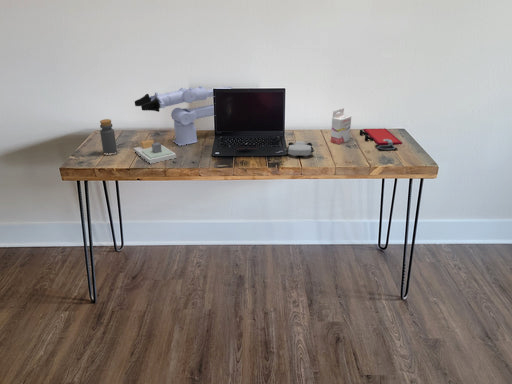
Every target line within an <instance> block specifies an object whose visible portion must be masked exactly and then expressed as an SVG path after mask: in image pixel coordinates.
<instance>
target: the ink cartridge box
mask: <svg viewBox="0 0 512 384" xmlns="http://www.w3.org/2000/svg"><path fill="white" fill-rule="evenodd" d="M344 111H345V107H344V108H339V109H337V110H334V111H333V112H332V118H331V130H330V131H331V133H330V143H333V144H337V145H340V144H342V143H343V144H344V143H346V142H349V141H350V137H351V126H352V123H351V122H352V116H351V115H348V114H344Z"/></svg>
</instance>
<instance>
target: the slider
mask: <svg viewBox="0 0 512 384" xmlns="http://www.w3.org/2000/svg"><path fill="white" fill-rule="evenodd" d="M153 143H155V141H154V140H153V139H148V140H141V141H140V147H142V148H149V147H152V144H153Z"/></svg>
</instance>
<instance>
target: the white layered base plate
mask: <svg viewBox="0 0 512 384" xmlns="http://www.w3.org/2000/svg"><path fill="white" fill-rule="evenodd" d="M162 146H163V147H165V146H164V145H162V144H161V147H162ZM165 148H166V149H168V150H170V149H169V148H167V147H165ZM132 149H133V152H134V151H135V152H136V153H137V154H138V155H139V156H141V157H142V158H143V159H142V158H141V157H140V158H141V159H142V160H144V159H145V160H146V161H147V162H146V161H145V160H144V161H145V162H146V163H148V162H149V163H150V164H149V163H148V164H149V165H152V164H151V163H155V164H157V163H156V162H159V163H161V162H160V161H163V162H165V161H164V160H167V161H170V160H169V159H172V160H175V159H174V158H176V159H177V154H176V153H175V152H173V151H172V150H170V151H171V152H173V154H170V155H166V156H161V157H157V158H152V159H151V158H149V157H148V156H146V155H145V154H144V153H142V151H143V150H148V149H152V147H149V148H142V147H141V146H138V147H133V148H132ZM137 154H136V155H137ZM138 155H137V156H138ZM139 156H138V157H139Z"/></svg>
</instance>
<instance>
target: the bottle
mask: <svg viewBox="0 0 512 384" xmlns="http://www.w3.org/2000/svg"><path fill="white" fill-rule="evenodd" d="M99 123H100V125H99V127H100V131H99V132H100V133H99V134H100V140H101V146H102V153H103V152H104V153H108V154H109V153H115V152H117V153H118V148H117V143H116V141H117V140H116V134H115V129H113V123H112V119H109V118H108V119H101V120H99Z"/></svg>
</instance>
